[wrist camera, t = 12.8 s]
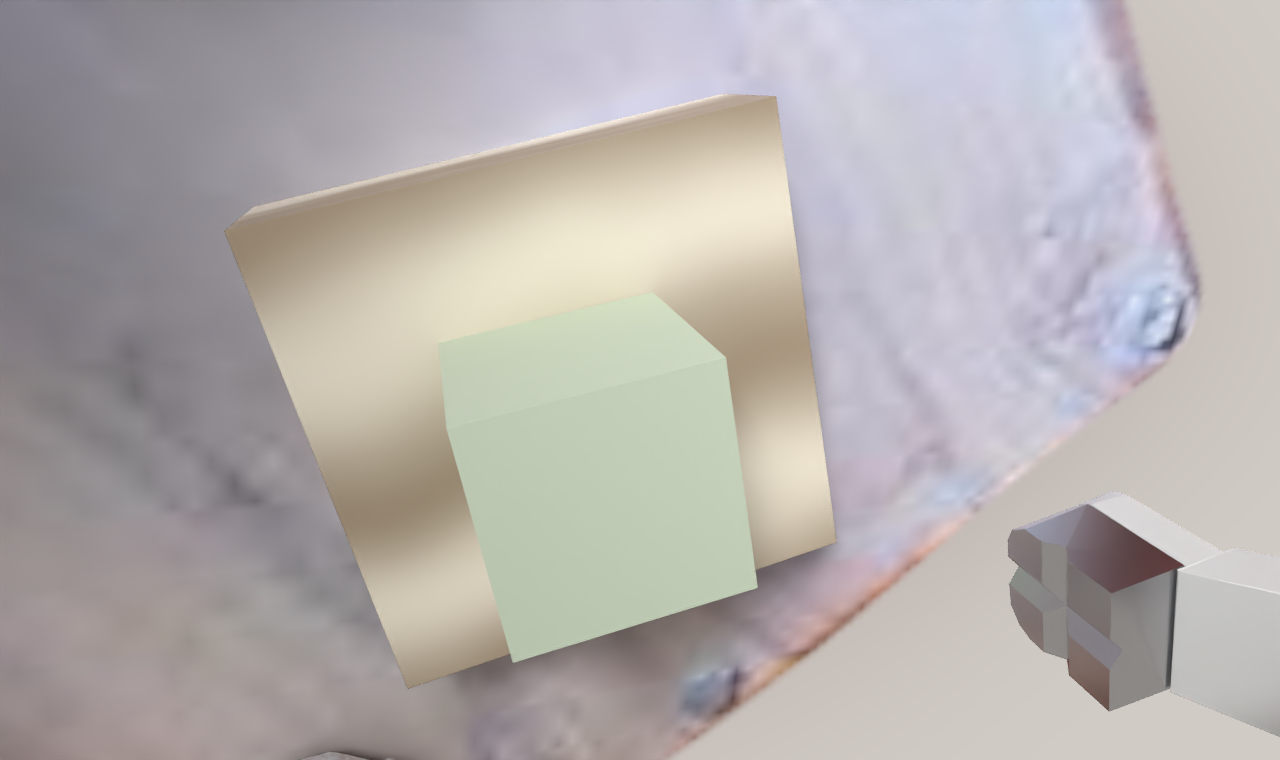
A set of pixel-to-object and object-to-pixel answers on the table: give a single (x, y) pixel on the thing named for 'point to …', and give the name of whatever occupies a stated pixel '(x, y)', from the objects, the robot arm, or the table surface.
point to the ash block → (520, 292)
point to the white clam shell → (333, 757)
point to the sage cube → (598, 470)
